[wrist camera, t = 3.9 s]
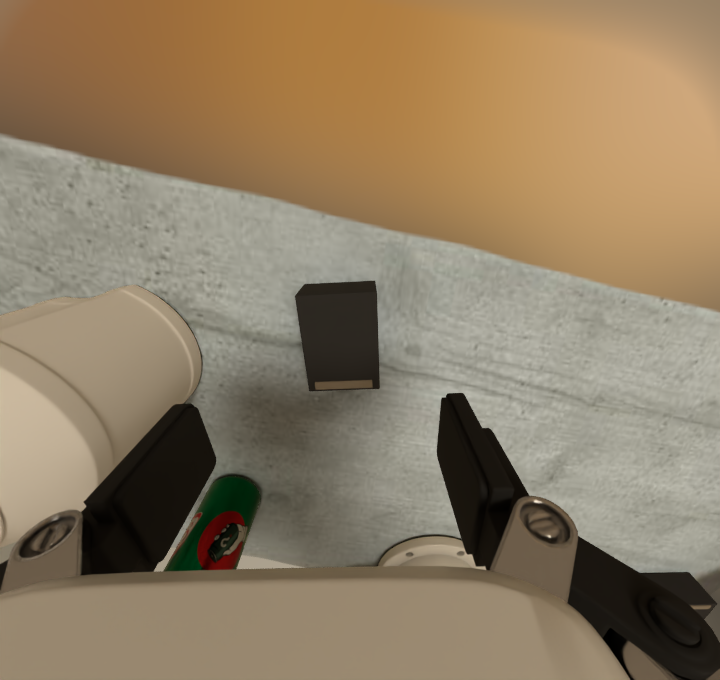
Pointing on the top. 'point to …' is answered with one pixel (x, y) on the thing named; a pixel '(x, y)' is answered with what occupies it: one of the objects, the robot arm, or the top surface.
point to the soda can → (218, 527)
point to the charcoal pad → (685, 590)
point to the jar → (83, 395)
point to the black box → (339, 335)
